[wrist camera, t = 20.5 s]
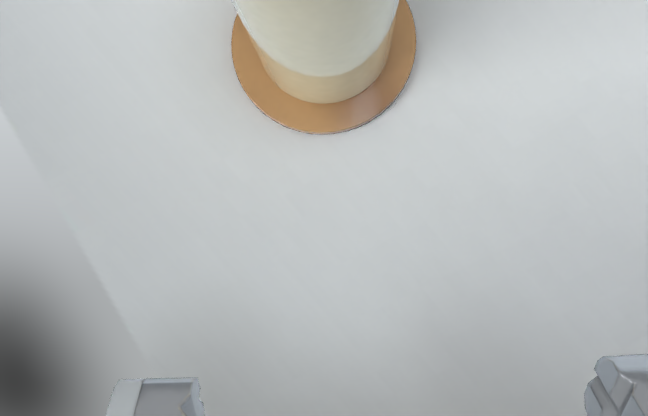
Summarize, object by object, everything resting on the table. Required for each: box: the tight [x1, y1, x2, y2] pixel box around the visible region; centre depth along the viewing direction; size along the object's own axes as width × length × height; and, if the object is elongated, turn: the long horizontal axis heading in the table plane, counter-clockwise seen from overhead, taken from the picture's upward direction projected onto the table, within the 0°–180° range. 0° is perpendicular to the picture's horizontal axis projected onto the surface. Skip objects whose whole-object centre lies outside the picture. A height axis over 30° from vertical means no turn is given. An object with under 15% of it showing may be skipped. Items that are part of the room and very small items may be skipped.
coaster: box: [231, 0, 416, 134], centre depth 24 cm, size 8×8×1 cm
